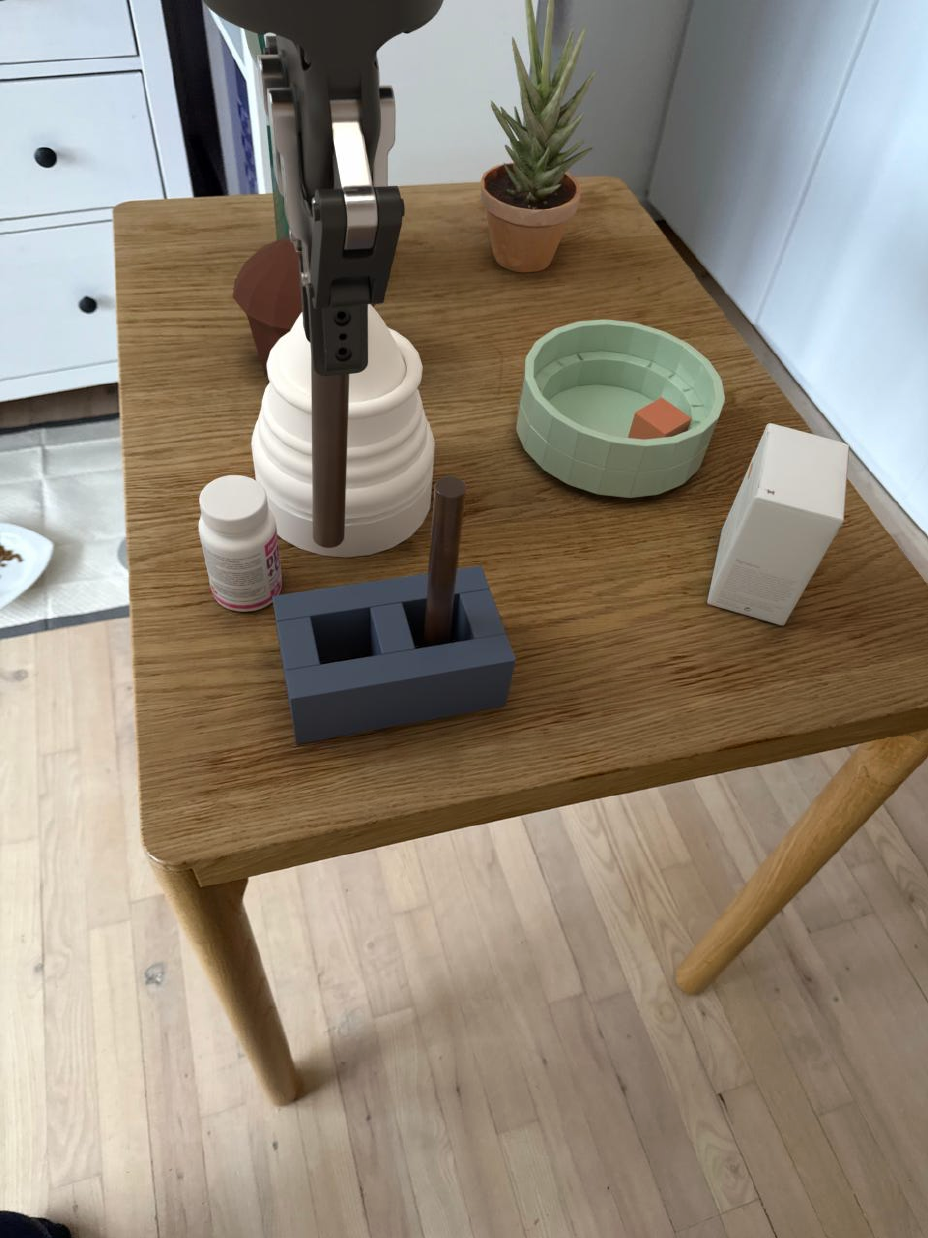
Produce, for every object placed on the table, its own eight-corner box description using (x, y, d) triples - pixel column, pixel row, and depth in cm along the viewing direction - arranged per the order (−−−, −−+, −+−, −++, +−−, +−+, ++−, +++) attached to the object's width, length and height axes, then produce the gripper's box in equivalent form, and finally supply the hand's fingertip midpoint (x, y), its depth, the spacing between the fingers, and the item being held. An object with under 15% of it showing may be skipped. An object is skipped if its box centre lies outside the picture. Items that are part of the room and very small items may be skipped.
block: (625, 443, 72) (634, 411, 69) (651, 428, 73) (661, 396, 71) (655, 465, 70) (665, 434, 68) (681, 449, 72) (692, 418, 69)
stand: (278, 644, 58) (272, 595, 54) (474, 613, 61) (481, 564, 57) (296, 744, 53) (290, 699, 49) (506, 706, 56) (516, 660, 52)
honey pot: (455, 536, 65) (478, 319, 51) (280, 573, 61) (252, 351, 47) (401, 424, 72) (408, 207, 58) (242, 452, 69) (208, 227, 54)
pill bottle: (288, 607, 60) (278, 518, 53) (216, 620, 58) (196, 530, 52) (277, 555, 62) (265, 465, 56) (207, 566, 61) (187, 475, 55)
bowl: (623, 361, 80) (639, 301, 75) (740, 466, 72) (766, 407, 68) (479, 410, 74) (486, 349, 69) (590, 530, 66) (606, 470, 62)
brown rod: (337, 522, 46) (343, 225, 34) (349, 543, 45) (360, 247, 33) (308, 530, 46) (303, 230, 33) (319, 552, 45) (319, 253, 32)
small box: (782, 629, 62) (846, 523, 54) (703, 605, 63) (754, 497, 54) (793, 550, 67) (853, 442, 59) (720, 529, 68) (768, 419, 59)
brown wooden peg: (437, 654, 58) (455, 471, 46) (450, 671, 57) (472, 491, 45) (416, 663, 58) (429, 481, 45) (429, 681, 57) (445, 501, 44)
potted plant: (466, 232, 91) (491, -59, 72) (555, 230, 93) (602, -55, 74) (485, 286, 85) (517, -15, 66) (579, 283, 87) (638, -12, 68)
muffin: (254, 409, 72) (240, 297, 64) (230, 329, 78) (215, 219, 70) (396, 388, 75) (399, 279, 67) (362, 313, 81) (361, 206, 73)
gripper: (525, -127, 20) (464, 452, 34) (397, -250, 28) (389, 259, 42) (186, -137, 19) (265, 475, 32) (152, -265, 27) (226, 270, 40)
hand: (335, 351), depth 37 cm, fingers closed on brown rod, 1 cm apart
